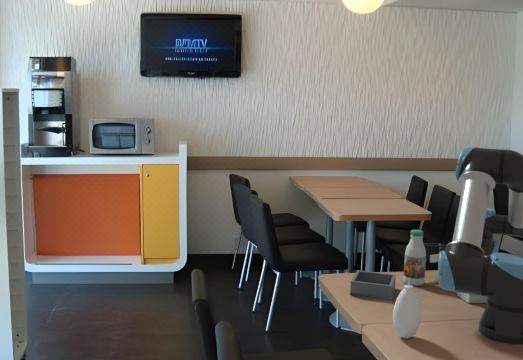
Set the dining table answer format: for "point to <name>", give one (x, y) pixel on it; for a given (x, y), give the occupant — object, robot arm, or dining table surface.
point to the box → (373, 285)
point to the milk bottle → (415, 259)
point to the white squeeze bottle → (407, 312)
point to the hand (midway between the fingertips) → (418, 254)
